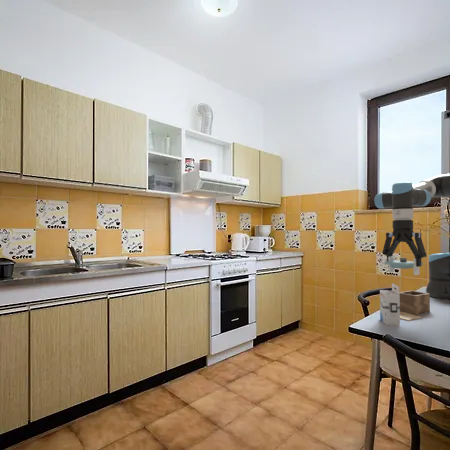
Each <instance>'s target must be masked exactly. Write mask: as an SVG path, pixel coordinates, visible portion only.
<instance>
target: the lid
mask: <svg viewBox="0 0 450 450" xmlns="http://www.w3.org/2000/svg"><path fill="white" fill-rule="evenodd" d="M384 265H388V266H389V265H392V268H394V269H403V270H405V269H406V270H408V269H414V267H413V266H414V264H413V261H412V260H411V261H410V260H408V259H407V257H399V260H394V261H387V260H386V261H385V260H384ZM423 265H424V262H422V261H421V266H423Z"/></svg>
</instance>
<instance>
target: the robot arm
mask: <svg viewBox="0 0 450 450" xmlns="http://www.w3.org/2000/svg"><path fill="white" fill-rule="evenodd" d="M432 198H450V173H446V174H438V175H436V176H433V177H430V178H428V179H423V180H421V181H419V182H418V183H417V184H413V182H411V181H401V182H395V183H393V184H392V186H391V191H387V192H379V193H377V194H376V195H375V197H374V200H373V201H374V206H375V207H376V208H377V209H384V210H386V209H392V213H391V214H392V219H393V220H392V229H393V230H392V232H385V237H386V238H385V240H384V245H383V250H382V253H381V254H382V255H385V256H386V261H395V256H394V253H395V251H396V249H397V247H398V245H399V244H400V243H405V244H407V246H408V248H409V249H410V250H411V253H412V255H413V256H414V258H413V264H414V266H413V267H414V268H413V276H417V275H421V274H420V267H422V265H421V262H422V259H423V258H426V257H427V251H426V249H425V246H424V243H423V239H422V233H421V232H414V220H413V219H414V207H416V208H417V207H418V208H419V207H421V208H422V207H427V205H428V204H429V203H431V200H432ZM393 237H394V238H393ZM413 238H414V239H413ZM393 272H395V268H392V265H388V273H393ZM428 275H429V277H428V279H429V280H428V283H427V285H426V289H425V293H429V294H430V297H432V298H435V299H436V298H438V299H446V300H449V299H450V252H443V253H432V254H430V255H429V256H428Z"/></svg>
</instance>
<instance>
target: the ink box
mask: <svg viewBox="0 0 450 450" xmlns="http://www.w3.org/2000/svg"><path fill="white" fill-rule="evenodd" d="M399 292H400V286H399V285H397V284H395V283H391V290H388V289H387V290H386V289H385V290H384V289H380V290H379V316H380V317H379V318H380V320H381V321H382V322H383V323H384V324H385V325H386V326H398V327H400V326H401V319H400V312H401V311H400V295H399Z"/></svg>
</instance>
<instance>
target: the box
mask: <svg viewBox="0 0 450 450" xmlns="http://www.w3.org/2000/svg"><path fill="white" fill-rule="evenodd" d="M399 295H400V312H404V313H408V314H412V315H416V316H419V315H423V314H427V313H431V302H430V300H431V299H430V297H431V296H430V294H429V293H426V292H422V291H416V290H407V291H399Z"/></svg>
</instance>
